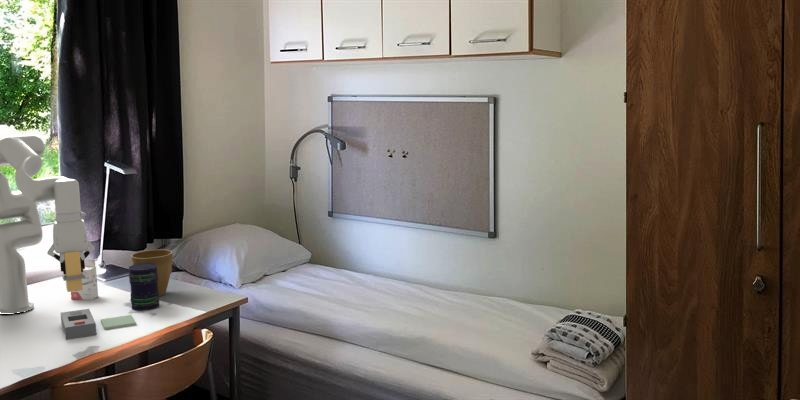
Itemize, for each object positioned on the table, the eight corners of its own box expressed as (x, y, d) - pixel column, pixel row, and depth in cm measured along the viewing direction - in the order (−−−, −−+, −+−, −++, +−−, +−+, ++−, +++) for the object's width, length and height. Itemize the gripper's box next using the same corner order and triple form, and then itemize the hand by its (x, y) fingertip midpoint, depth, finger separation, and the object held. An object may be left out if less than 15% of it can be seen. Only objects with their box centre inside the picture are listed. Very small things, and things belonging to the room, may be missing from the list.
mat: (100, 321, 266) (100, 319, 266) (131, 317, 271) (131, 314, 271) (104, 329, 258) (104, 327, 257) (136, 324, 262) (136, 322, 262)
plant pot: (181, 289, 305) (178, 249, 302) (166, 300, 290) (163, 258, 288) (144, 288, 306) (141, 248, 304) (127, 299, 292) (124, 257, 289)
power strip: (61, 324, 264) (60, 310, 264) (89, 319, 268) (88, 306, 268) (66, 339, 249) (65, 325, 248) (96, 334, 253) (95, 321, 252)
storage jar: (126, 307, 283) (123, 266, 280) (151, 301, 289) (149, 261, 287) (139, 312, 276) (136, 271, 273) (164, 306, 282) (162, 266, 280)
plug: (63, 288, 258) (59, 249, 256) (83, 285, 261) (80, 247, 259) (64, 293, 252) (61, 253, 250) (86, 290, 255) (83, 251, 253)
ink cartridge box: (70, 299, 293) (67, 261, 291) (77, 295, 298) (74, 258, 296) (92, 299, 292) (89, 261, 290) (98, 296, 297) (95, 258, 295)
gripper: (95, 213, 260) (99, 266, 263) (39, 218, 252) (44, 273, 255) (98, 216, 253) (102, 271, 256) (40, 222, 245) (45, 278, 248)
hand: (73, 271), depth 256 cm, fingers closed on plug, 4 cm apart
